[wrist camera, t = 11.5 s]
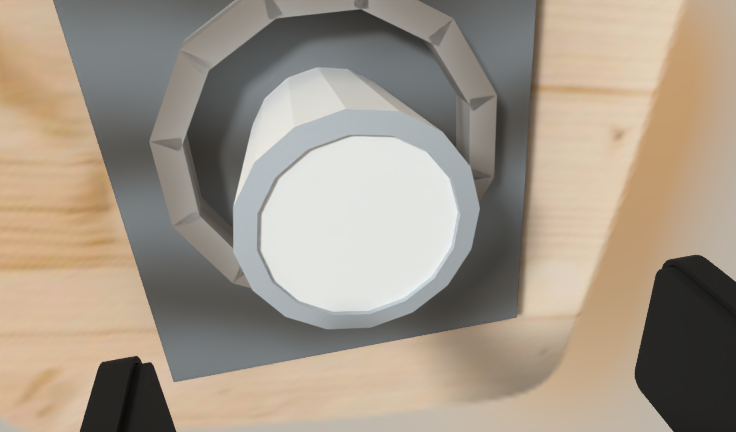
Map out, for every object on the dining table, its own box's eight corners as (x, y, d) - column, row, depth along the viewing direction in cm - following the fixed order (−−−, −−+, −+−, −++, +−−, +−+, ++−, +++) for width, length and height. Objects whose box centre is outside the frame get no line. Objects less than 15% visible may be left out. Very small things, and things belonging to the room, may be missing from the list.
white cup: (440, 76, 21) (519, 142, 15) (384, 235, 24) (433, 344, 18) (255, 25, 19) (262, 78, 13) (217, 205, 22) (208, 317, 16)
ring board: (22, -148, 17) (-16, -158, 15) (527, -182, 19) (572, -196, 17) (177, 359, 27) (170, 407, 24) (504, 299, 29) (530, 337, 26)
